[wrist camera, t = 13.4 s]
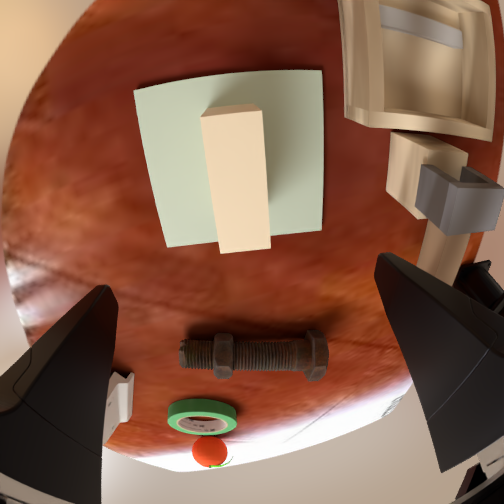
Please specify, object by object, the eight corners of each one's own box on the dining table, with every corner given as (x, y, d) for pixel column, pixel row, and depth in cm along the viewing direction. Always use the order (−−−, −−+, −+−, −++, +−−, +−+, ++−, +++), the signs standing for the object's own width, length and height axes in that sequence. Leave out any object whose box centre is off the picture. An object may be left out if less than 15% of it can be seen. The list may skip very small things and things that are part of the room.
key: (456, 206, 17) (513, 257, 11) (417, 321, 23) (446, 373, 18) (427, 208, 16) (485, 264, 11) (392, 327, 23) (419, 384, 18)
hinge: (131, 415, 41) (106, 456, 33) (109, 401, 42) (83, 440, 33) (134, 372, 33) (96, 427, 24) (105, 354, 33) (65, 405, 25)
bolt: (183, 322, 31) (316, 325, 32) (184, 362, 31) (311, 363, 32) (174, 341, 25) (333, 343, 26) (177, 386, 25) (325, 386, 27)
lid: (317, 70, 16) (351, 69, 11) (318, 224, 23) (341, 267, 18) (138, 90, 16) (104, 96, 11) (169, 240, 23) (156, 288, 18)
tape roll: (247, 404, 40) (249, 418, 38) (220, 426, 45) (220, 438, 43) (179, 390, 37) (177, 406, 34) (161, 415, 42) (160, 428, 40)
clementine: (233, 431, 47) (235, 464, 41) (230, 441, 50) (232, 471, 45) (191, 430, 46) (191, 463, 40) (192, 440, 49) (192, 470, 43)
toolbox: (458, 7, 11) (533, 7, 4) (452, 189, 22) (514, 238, 14) (333, -31, 11) (393, -75, 4) (342, 192, 21) (395, 257, 14)
